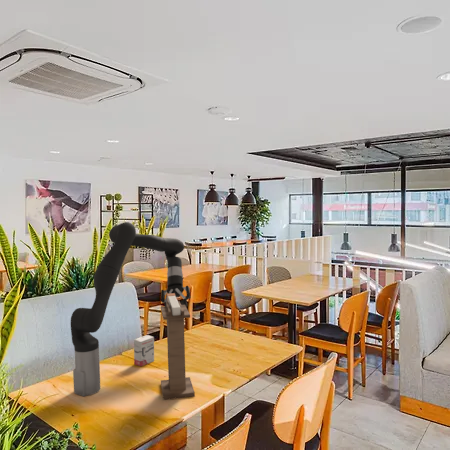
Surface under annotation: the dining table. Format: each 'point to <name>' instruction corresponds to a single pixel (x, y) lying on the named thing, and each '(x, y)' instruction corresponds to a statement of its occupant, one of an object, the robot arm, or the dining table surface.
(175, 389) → the wooden pedestal post
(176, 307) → the cream white long bar
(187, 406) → the dining table surface
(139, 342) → the ink box
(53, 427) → the dining table surface
